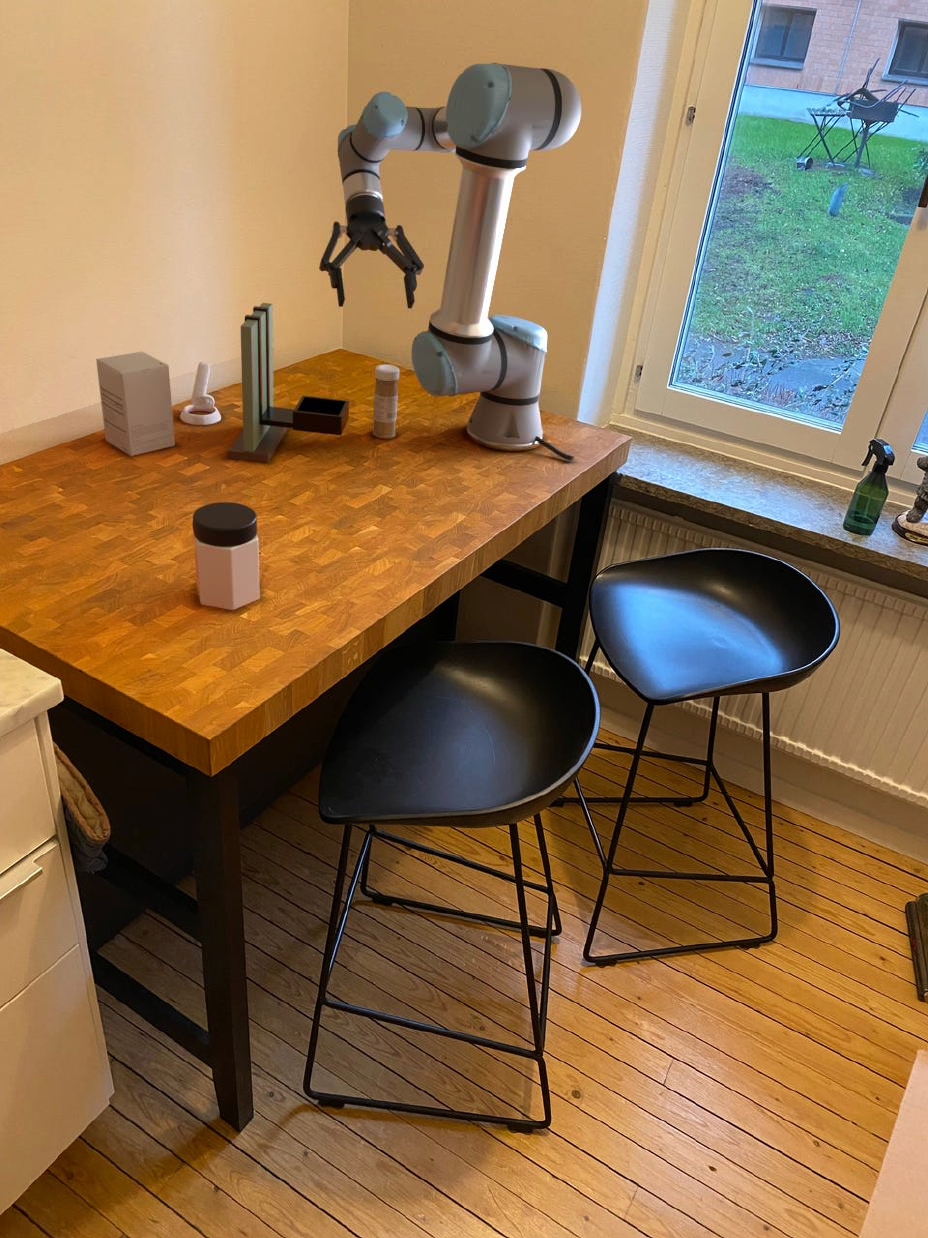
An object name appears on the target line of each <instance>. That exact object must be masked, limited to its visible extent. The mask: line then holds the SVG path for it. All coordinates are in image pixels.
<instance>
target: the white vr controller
mask: <svg viewBox="0 0 928 1238" xmlns="http://www.w3.org/2000/svg"><path fill="white" fill-rule="evenodd" d="M211 369H212V368H211V364H210V363H207V362H203V361H202V362H199V363H198V365H197V370H196V373H195V374H196V375H195V380H194V385H193V390H192V393H191V399H190V403H191V404H188V405H186V406H184V407H183V408H182V410H181V413H180V416H179V419H180V420H181V421H182V422H184V423H186V424H190V425H196V426H206V425H213V424H216V423H218V422H220V421H221V420H222V415H221V413H220V411H219V410H218V408H217V407H216V406H215V398H214V396H213V395H210V394H208V393H207V389H208V382H209V377H210V373H211ZM193 412H206V413H207V414H193Z"/></svg>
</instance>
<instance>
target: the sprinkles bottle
mask: <svg viewBox="0 0 928 1238" xmlns="http://www.w3.org/2000/svg"><path fill="white" fill-rule="evenodd" d="M400 370H401V369H400V367H398V366H396V365H392V364H378V365H376V367H375V371H374V377H375V378H374V379H375V389H374V398H373V399H374V400H373V425H372V426H373V429H372V435H373V436H374V437H376V438H379V439H385V440H388V439H392V438H394V437H396V423H397V422H396V421H397V414H398V413H397V412H398V397H399V394H398V393H399V391H398V388H399V381H400V380H399V379H400V373H401V371H400Z"/></svg>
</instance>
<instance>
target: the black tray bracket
mask: <svg viewBox="0 0 928 1238" xmlns="http://www.w3.org/2000/svg"><path fill="white" fill-rule="evenodd" d="M256 310H257V311H266V373H267V409H266V410H265V412H264V413H263V415H262V356H261V316H252V314H253V313H254V312H255V311H256ZM252 314H245V316H244V322H245V321H246V320H247V319H250V320H258V373H259V425H268V426H277V427H286V428H288V429H292V431H299V432H306V433H315V434H324V435H331V436H340V437H341V436H342V435H343V432H344V430H345V428H346V426H347V423H348V421H349V413H350V401H349V400H345V399H344V400H343V399H336V398H328V397H319V396H309V395H301V397H300V399H299V401H298V402H297V404H296V405H295V407H294V408H288V407H287V408H286V407H278V406H274V407H270V366H269V308H266V307H259V306H257V305H255V306H253V307H252Z"/></svg>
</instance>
